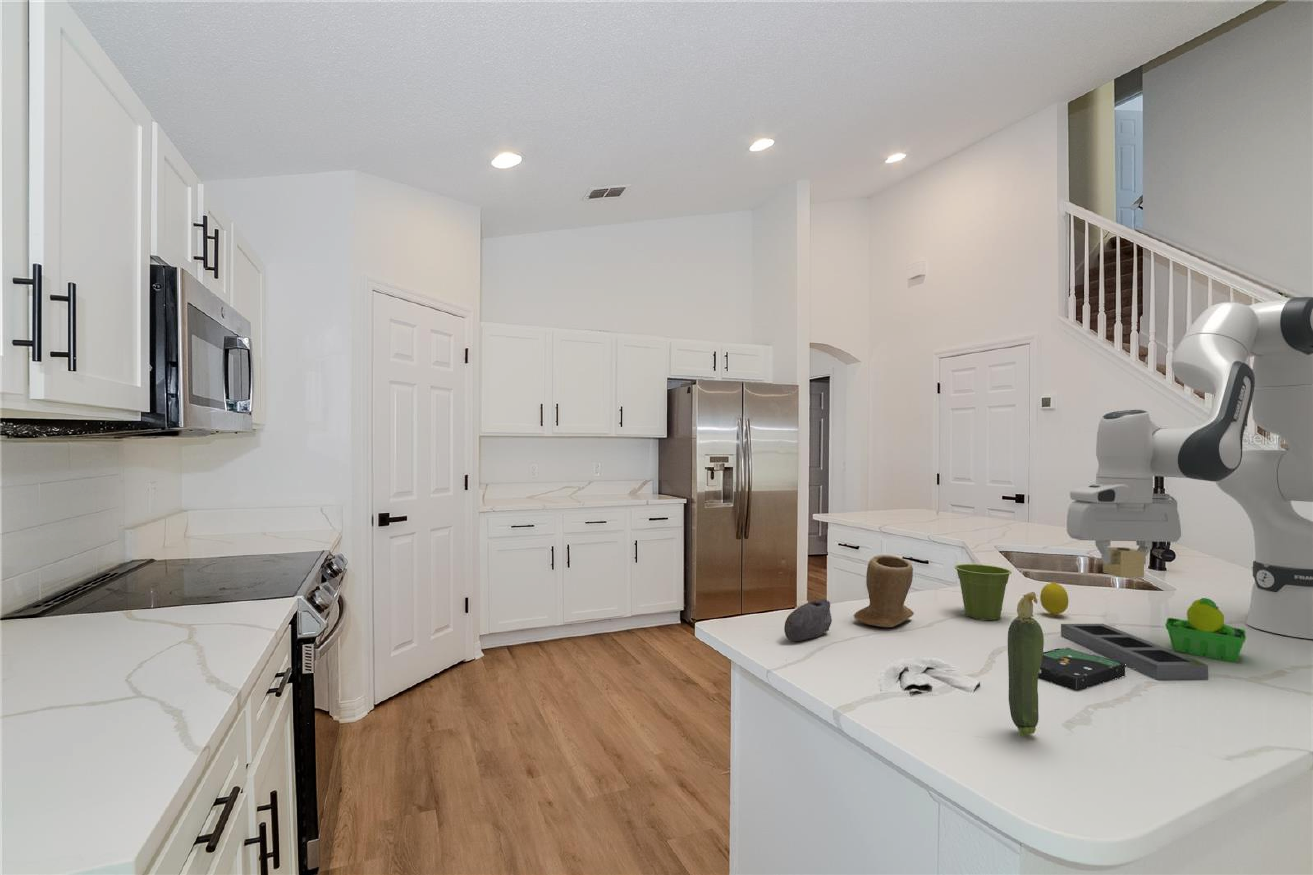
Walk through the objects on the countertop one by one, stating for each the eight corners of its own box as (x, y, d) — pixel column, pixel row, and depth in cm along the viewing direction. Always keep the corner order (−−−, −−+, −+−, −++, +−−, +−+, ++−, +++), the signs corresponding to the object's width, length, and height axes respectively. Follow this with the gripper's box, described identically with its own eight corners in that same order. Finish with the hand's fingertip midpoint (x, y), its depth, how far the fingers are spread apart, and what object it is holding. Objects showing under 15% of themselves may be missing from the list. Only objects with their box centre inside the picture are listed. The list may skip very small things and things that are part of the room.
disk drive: (1078, 695, 100) (1126, 678, 107) (1078, 678, 100) (1126, 662, 107) (1016, 674, 109) (1063, 659, 116) (1015, 658, 109) (1063, 644, 116)
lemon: (1073, 620, 140) (1072, 585, 140) (1046, 618, 141) (1046, 584, 141) (1062, 613, 146) (1061, 579, 146) (1036, 612, 147) (1036, 578, 147)
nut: (1125, 572, 121) (1125, 546, 121) (1143, 577, 117) (1144, 550, 117) (1103, 572, 121) (1103, 546, 121) (1120, 577, 117) (1120, 549, 117)
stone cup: (898, 635, 129) (898, 564, 129) (847, 623, 137) (846, 557, 138) (928, 621, 139) (928, 555, 140) (878, 610, 148) (878, 548, 148)
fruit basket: (1245, 655, 117) (1244, 596, 117) (1246, 668, 110) (1245, 605, 111) (1167, 642, 125) (1167, 586, 125) (1164, 653, 118) (1164, 594, 118)
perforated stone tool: (795, 648, 121) (795, 613, 121) (774, 641, 125) (774, 607, 125) (838, 633, 131) (838, 600, 131) (818, 627, 135) (818, 596, 135)
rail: (1102, 635, 129) (1102, 623, 129) (1208, 679, 105) (1208, 664, 105) (1060, 635, 129) (1060, 623, 129) (1156, 679, 105) (1156, 665, 105)
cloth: (941, 659, 117) (941, 646, 117) (1029, 707, 95) (1029, 692, 95) (841, 665, 113) (841, 652, 113) (909, 718, 92) (909, 702, 92)
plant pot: (1023, 624, 137) (1022, 573, 137) (969, 624, 137) (969, 573, 137) (994, 610, 149) (994, 563, 149) (945, 609, 149) (945, 563, 149)
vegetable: (1001, 726, 87) (1000, 586, 88) (1029, 725, 88) (1028, 586, 88) (1022, 741, 83) (1021, 594, 83) (1052, 740, 83) (1051, 593, 84)
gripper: (1162, 492, 123) (1162, 561, 122) (1061, 490, 122) (1061, 560, 122) (1190, 495, 116) (1190, 568, 116) (1084, 493, 116) (1083, 566, 116)
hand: (1123, 564), depth 119 cm, fingers closed on nut, 4 cm apart
